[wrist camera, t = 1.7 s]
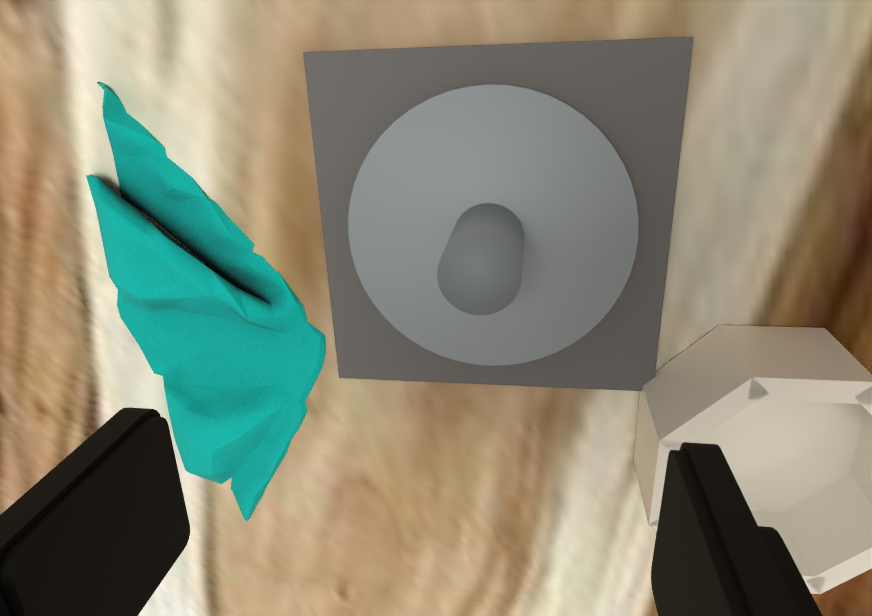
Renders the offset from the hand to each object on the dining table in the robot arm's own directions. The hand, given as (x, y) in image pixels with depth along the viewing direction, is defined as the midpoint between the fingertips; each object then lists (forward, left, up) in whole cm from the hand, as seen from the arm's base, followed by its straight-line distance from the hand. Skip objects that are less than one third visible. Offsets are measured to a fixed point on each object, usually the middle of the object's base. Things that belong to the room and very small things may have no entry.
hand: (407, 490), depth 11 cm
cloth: (+15, +7, -20) cm, 26 cm away
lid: (0, 0, -19) cm, 19 cm away
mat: (0, 0, -19) cm, 19 cm away
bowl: (-13, +10, -19) cm, 26 cm away
